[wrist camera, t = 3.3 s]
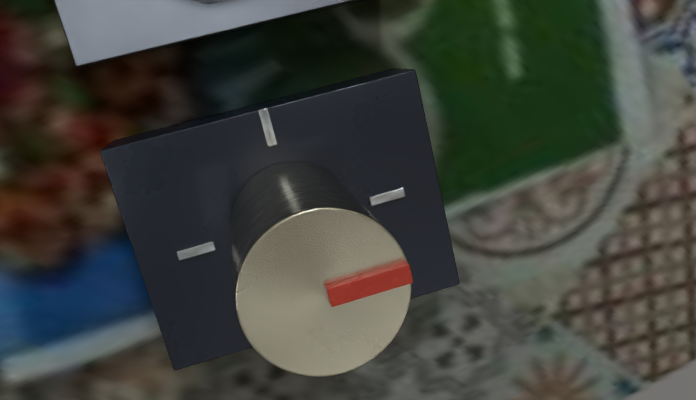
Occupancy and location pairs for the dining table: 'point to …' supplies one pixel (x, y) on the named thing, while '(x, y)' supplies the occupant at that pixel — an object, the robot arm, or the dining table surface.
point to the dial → (314, 272)
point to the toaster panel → (247, 160)
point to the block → (164, 22)
